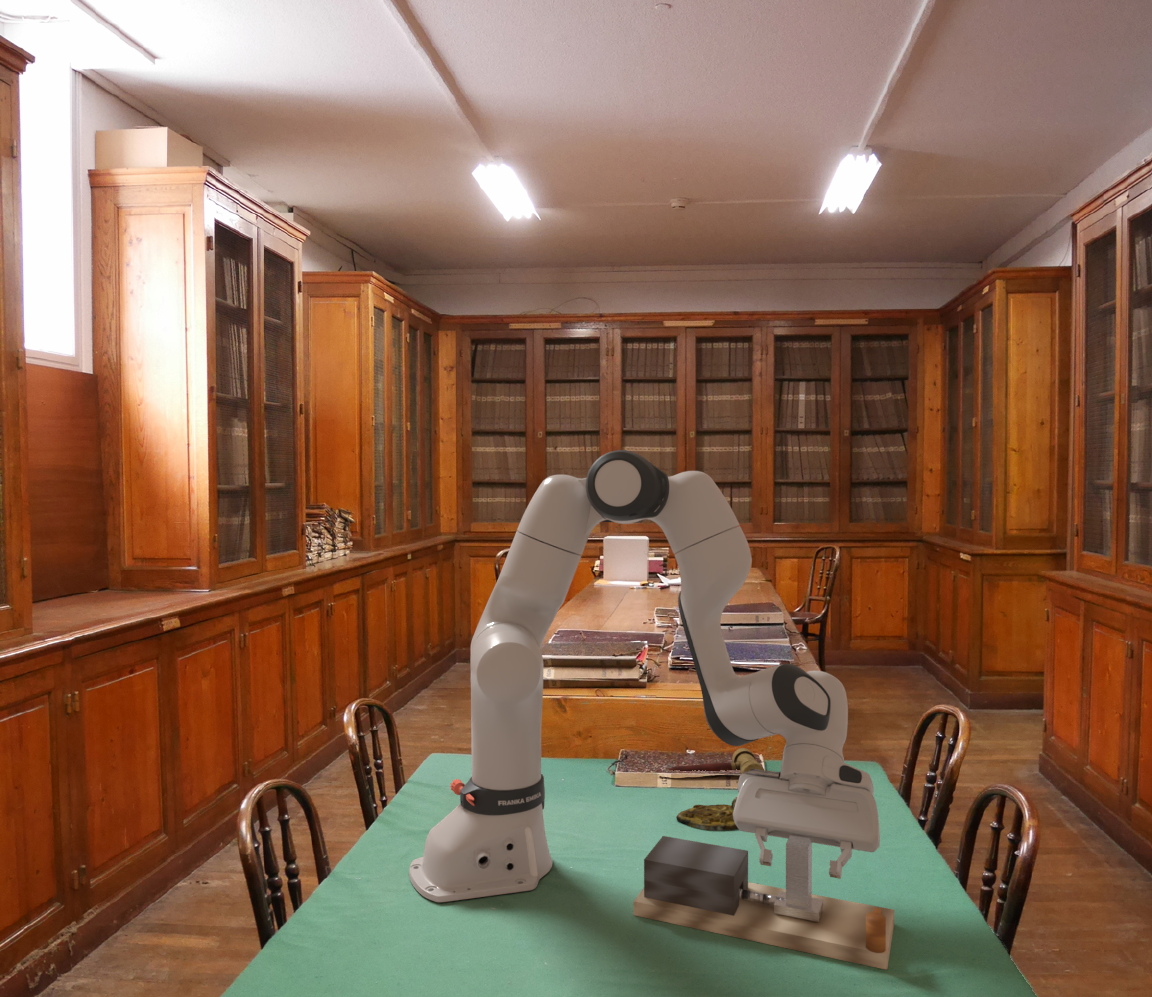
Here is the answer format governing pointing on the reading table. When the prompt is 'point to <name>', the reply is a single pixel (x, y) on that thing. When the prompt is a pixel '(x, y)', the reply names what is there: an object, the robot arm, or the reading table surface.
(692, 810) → the seal
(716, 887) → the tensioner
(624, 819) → the reading table surface
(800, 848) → the chain end
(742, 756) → the gavel
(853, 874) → the reading table surface
